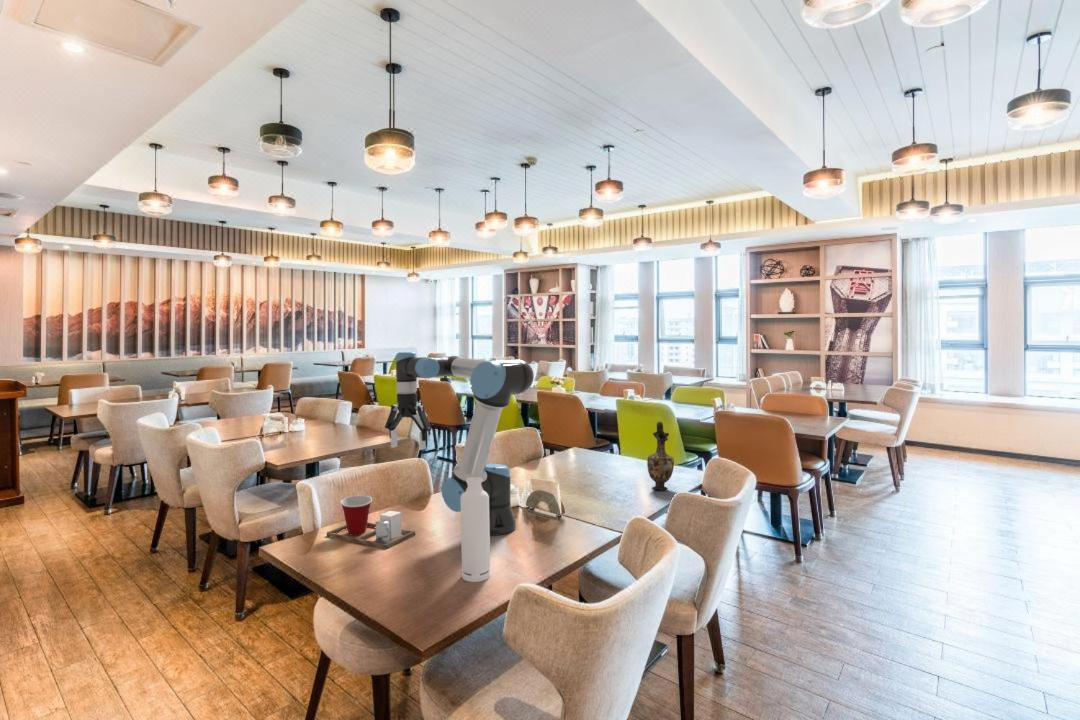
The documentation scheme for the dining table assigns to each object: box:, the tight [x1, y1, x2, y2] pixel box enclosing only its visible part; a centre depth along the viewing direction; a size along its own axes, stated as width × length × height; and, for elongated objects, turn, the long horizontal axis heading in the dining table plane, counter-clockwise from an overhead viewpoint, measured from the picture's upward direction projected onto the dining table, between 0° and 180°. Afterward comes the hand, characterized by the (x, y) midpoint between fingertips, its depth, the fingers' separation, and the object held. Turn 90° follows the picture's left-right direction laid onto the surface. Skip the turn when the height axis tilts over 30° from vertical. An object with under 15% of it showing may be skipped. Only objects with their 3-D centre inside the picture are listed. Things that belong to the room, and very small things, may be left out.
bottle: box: [460, 477, 491, 583], centre depth 151 cm, size 8×8×28 cm
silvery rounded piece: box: [374, 519, 391, 544], centre depth 178 cm, size 4×4×7 cm
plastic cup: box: [340, 495, 373, 536], centre depth 188 cm, size 11×11×12 cm
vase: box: [646, 421, 675, 492], centre depth 237 cm, size 12×12×30 cm
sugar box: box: [379, 510, 403, 541], centre depth 184 cm, size 5×5×8 cm
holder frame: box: [326, 521, 416, 550], centre depth 185 cm, size 28×14×1 cm, turn 63°
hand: (408, 448), depth 201 cm, fingers open, 13 cm apart
